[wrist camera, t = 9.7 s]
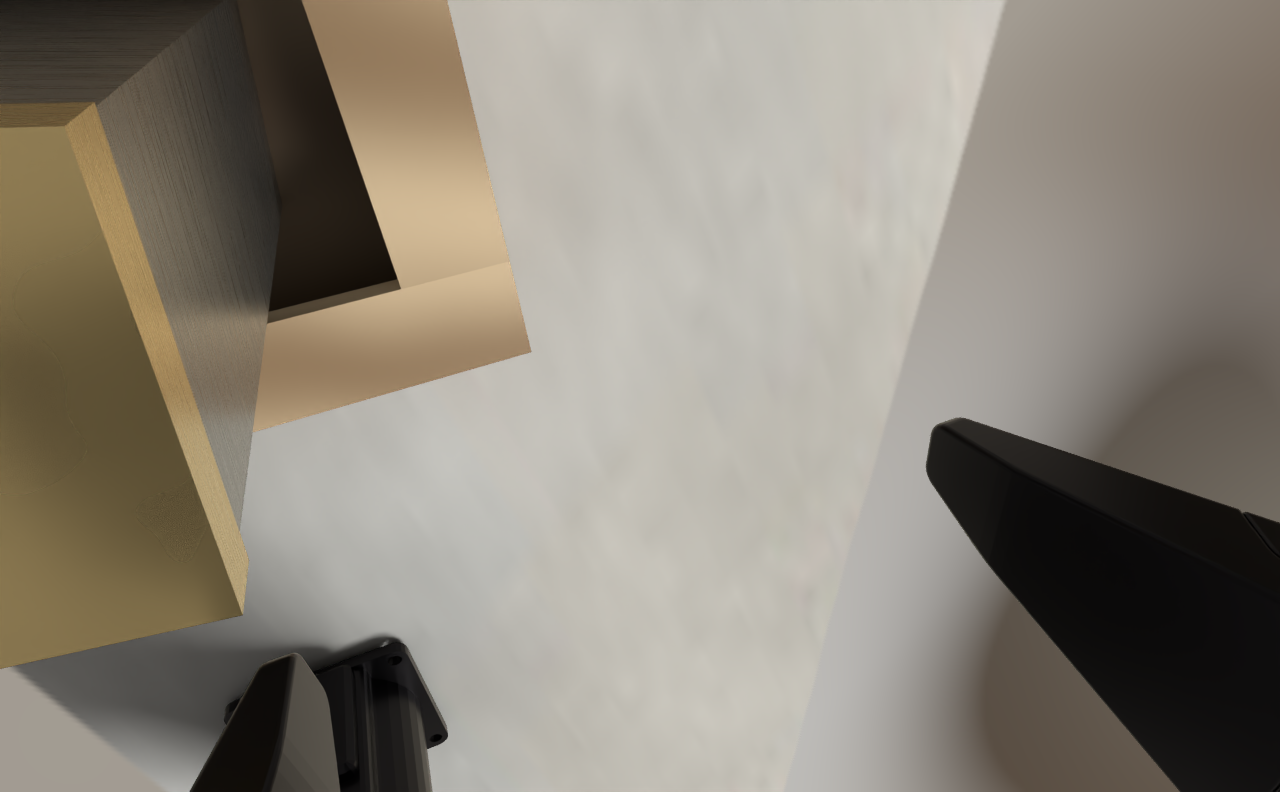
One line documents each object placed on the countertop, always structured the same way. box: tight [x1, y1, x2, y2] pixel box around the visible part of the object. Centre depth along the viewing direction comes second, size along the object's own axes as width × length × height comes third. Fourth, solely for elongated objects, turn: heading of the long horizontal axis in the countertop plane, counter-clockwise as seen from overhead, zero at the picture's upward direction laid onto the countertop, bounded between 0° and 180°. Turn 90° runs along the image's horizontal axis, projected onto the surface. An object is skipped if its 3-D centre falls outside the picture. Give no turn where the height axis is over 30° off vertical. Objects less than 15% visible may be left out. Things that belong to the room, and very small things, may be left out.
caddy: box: [237, 0, 531, 432], centre depth 14 cm, size 13×13×4 cm
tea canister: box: [0, 0, 282, 669], centre depth 10 cm, size 5×5×13 cm
